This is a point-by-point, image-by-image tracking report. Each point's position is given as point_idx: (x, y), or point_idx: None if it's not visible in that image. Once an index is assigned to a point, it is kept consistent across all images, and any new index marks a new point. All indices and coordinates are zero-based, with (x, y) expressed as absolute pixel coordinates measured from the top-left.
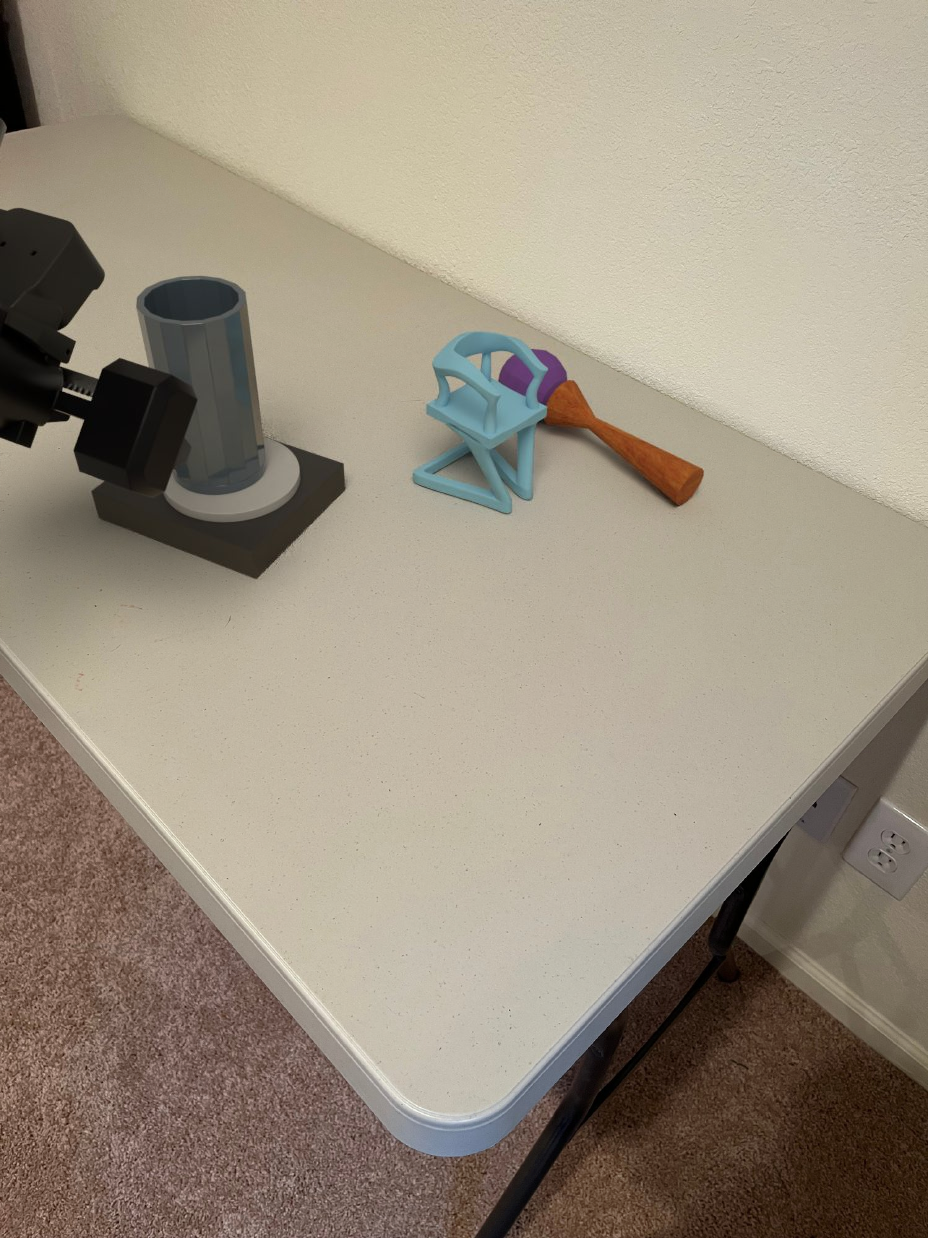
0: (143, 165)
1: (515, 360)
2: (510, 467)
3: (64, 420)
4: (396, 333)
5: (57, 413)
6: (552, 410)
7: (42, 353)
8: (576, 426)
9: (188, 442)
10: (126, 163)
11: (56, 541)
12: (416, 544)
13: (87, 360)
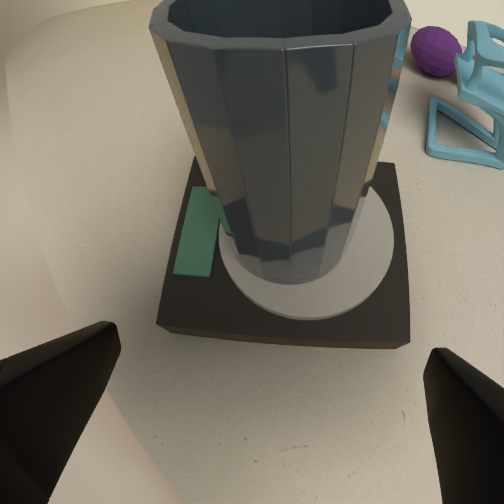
0: (62, 25)
1: (432, 35)
2: (478, 124)
3: (117, 357)
4: None
5: (103, 365)
6: None
7: None
8: None
9: (299, 249)
10: (54, 29)
11: (151, 383)
12: (482, 229)
13: (67, 142)
